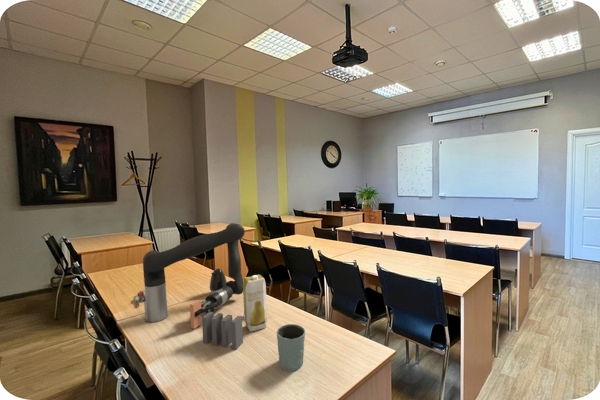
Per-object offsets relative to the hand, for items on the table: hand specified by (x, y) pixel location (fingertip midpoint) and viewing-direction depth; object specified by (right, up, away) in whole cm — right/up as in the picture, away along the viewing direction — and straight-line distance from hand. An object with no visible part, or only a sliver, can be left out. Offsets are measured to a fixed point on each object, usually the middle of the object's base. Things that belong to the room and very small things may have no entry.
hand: (193, 314), depth 125 cm
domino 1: (+1, -6, +2) cm, 6 cm away
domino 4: (+19, -7, -12) cm, 23 cm away
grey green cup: (+45, -7, -25) cm, 52 cm away
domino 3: (+14, -7, -10) cm, 19 cm away
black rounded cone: (-1, -5, +41) cm, 42 cm away
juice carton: (+28, -6, +1) cm, 29 cm away
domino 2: (+10, -7, -9) cm, 15 cm away
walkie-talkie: (-42, -7, +36) cm, 56 cm away
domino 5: (+23, -7, -13) cm, 28 cm away
